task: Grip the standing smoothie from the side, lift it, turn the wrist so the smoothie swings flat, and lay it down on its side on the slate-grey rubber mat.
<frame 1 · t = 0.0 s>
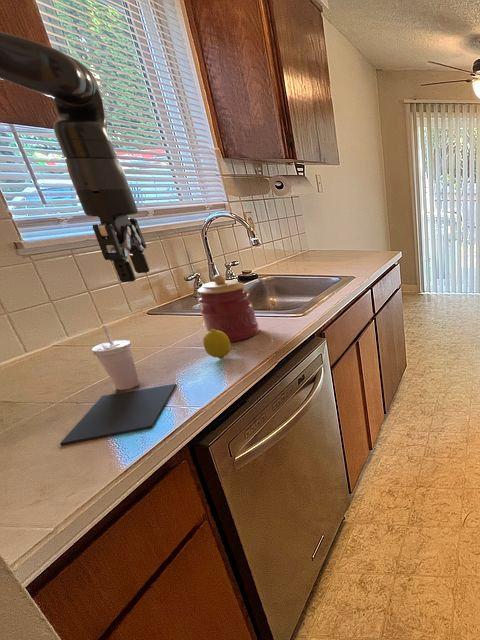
hand: (136, 276, 78), 24 cm above the counter, tool pointing down, fingers open, 8 cm apart
smoothie: (128, 386, 88), on the counter
kitchen canister: (235, 335, 116), on the counter
lemon: (222, 359, 101), on the counter
mat: (126, 411, 78), on the counter
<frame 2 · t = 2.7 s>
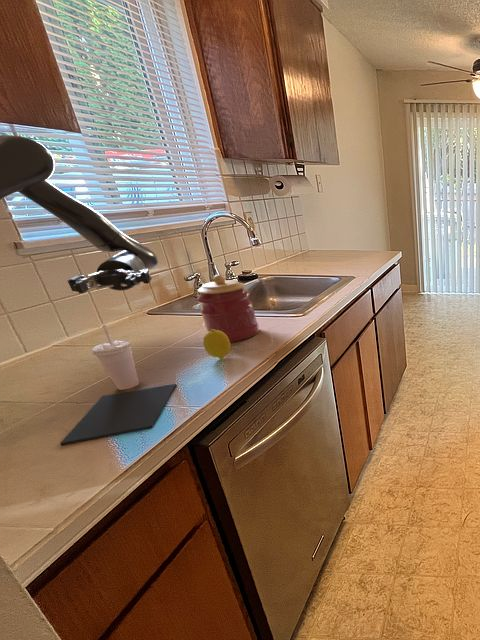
hand: (104, 286, 89), 20 cm above the counter, tool horizontal, fingers open, 8 cm apart
nothing on the counter moved.
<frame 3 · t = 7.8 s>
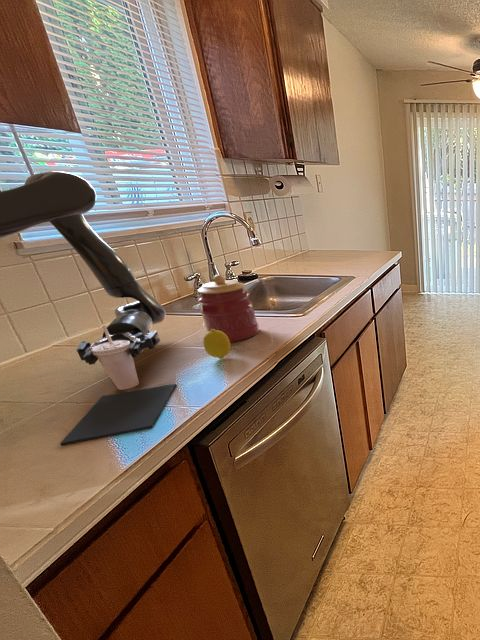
hand: (111, 356, 83), 8 cm above the counter, tool horizontal, fingers closed on smoothie, 6 cm apart
smoothie: (128, 386, 88), on the counter, touching gripper
everything else where it was.
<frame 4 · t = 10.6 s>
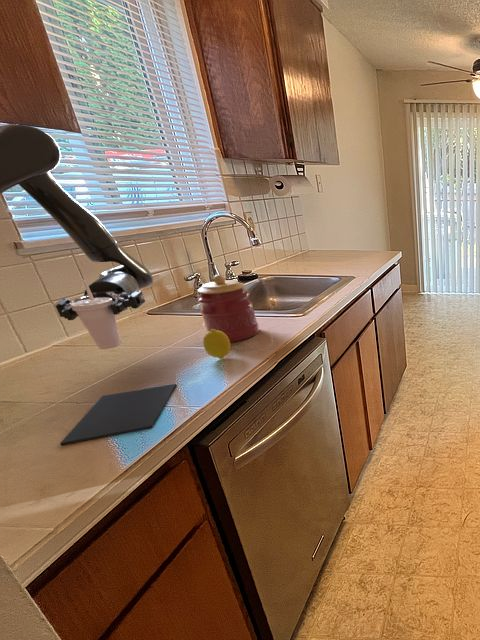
hand: (91, 312, 79), 18 cm above the counter, tool horizontal, fingers closed on smoothie, 6 cm apart
smoothie: (110, 346, 84), point 9 cm above the counter, touching gripper
everything else where it was.
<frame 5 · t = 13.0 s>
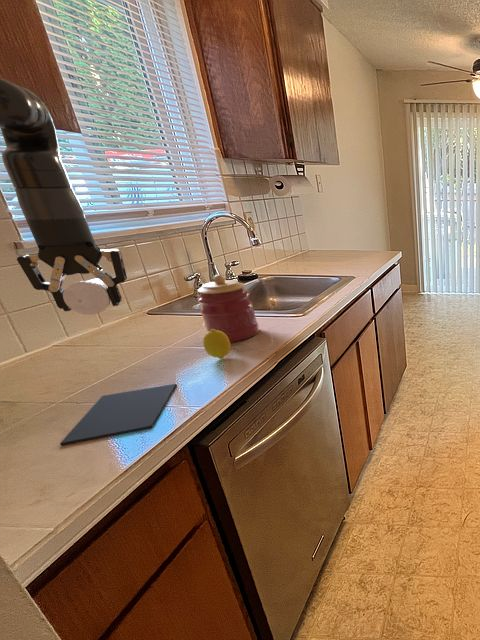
hand: (93, 307, 77), 19 cm above the counter, tool pointing down, fingers closed on smoothie, 6 cm apart
smoothie: (98, 287, 82), point 21 cm above the counter, touching gripper
everything else where it was.
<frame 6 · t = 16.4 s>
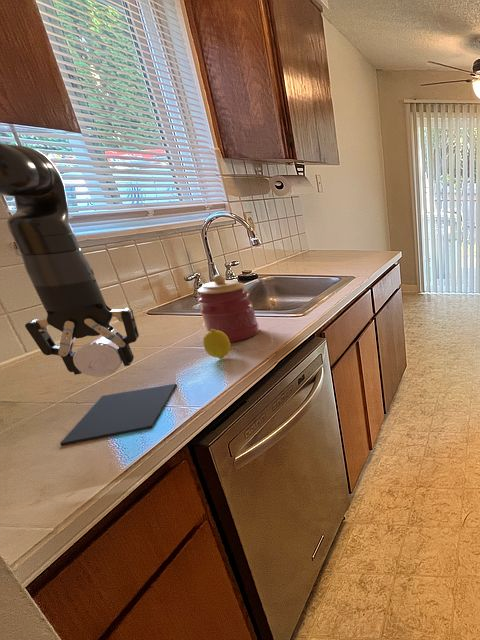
hand: (104, 368, 74), 10 cm above the counter, tool pointing down, fingers closed on smoothie, 6 cm apart
smoothie: (110, 342, 79), point 12 cm above the counter, touching gripper
everything else where it was.
when the fingers open (2 cm above the counter, at t = 19.2 s): smoothie stays where it is, resting on mat.
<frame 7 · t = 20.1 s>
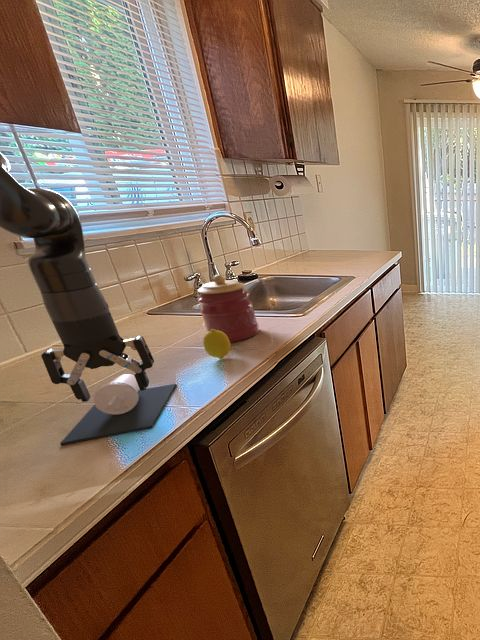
hand: (116, 394, 76), 4 cm above the counter, tool pointing down, fingers open, 8 cm apart
smoothie: (128, 381, 83), point 3 cm above the counter, touching mat
everything else where it was.
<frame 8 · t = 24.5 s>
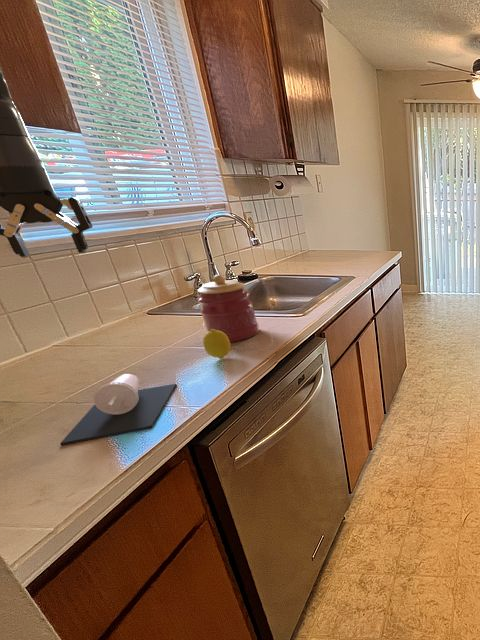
hand: (54, 254, 80), 28 cm above the counter, tool pointing down, fingers open, 8 cm apart
nothing on the counter moved.
at the end: smoothie tilted 86°; smoothie inside the target area on the mat (8.0 cm from its centre), point 3.1 cm above the mat's base; the gripper is holding nothing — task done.
